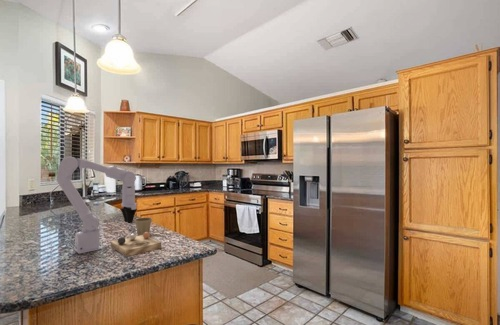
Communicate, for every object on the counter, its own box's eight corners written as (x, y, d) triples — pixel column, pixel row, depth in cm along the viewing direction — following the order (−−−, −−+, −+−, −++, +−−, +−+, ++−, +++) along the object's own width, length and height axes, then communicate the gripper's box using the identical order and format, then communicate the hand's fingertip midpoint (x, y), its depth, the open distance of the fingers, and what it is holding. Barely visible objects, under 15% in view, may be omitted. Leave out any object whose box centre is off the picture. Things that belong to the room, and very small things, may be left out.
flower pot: (140, 237, 138) (139, 221, 138) (131, 235, 144) (131, 219, 144) (155, 234, 146) (155, 218, 146) (146, 231, 151) (146, 216, 152)
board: (125, 256, 110) (125, 250, 110) (110, 246, 124) (110, 241, 124) (161, 247, 121) (161, 242, 121) (143, 239, 135) (143, 234, 135)
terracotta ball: (144, 239, 126) (144, 233, 126) (141, 238, 128) (141, 232, 128) (150, 238, 128) (150, 231, 128) (148, 237, 130) (148, 230, 130)
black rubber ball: (119, 245, 116) (119, 238, 117) (116, 244, 119) (116, 237, 119) (126, 244, 119) (126, 237, 119) (124, 242, 121) (124, 235, 121)
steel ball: (130, 241, 123) (130, 234, 123) (127, 240, 125) (127, 233, 125) (137, 240, 125) (137, 233, 125) (134, 238, 127) (134, 232, 127)
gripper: (142, 195, 127) (142, 223, 126) (131, 193, 137) (131, 219, 137) (127, 197, 122) (127, 225, 121) (117, 194, 132) (117, 221, 132)
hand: (128, 222), depth 129 cm, fingers open, 3 cm apart
